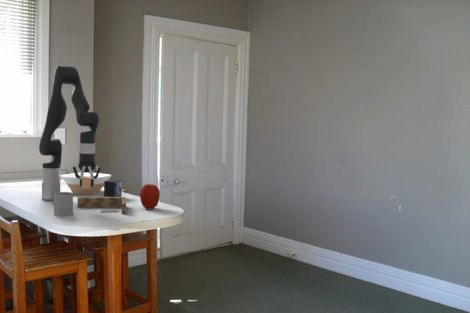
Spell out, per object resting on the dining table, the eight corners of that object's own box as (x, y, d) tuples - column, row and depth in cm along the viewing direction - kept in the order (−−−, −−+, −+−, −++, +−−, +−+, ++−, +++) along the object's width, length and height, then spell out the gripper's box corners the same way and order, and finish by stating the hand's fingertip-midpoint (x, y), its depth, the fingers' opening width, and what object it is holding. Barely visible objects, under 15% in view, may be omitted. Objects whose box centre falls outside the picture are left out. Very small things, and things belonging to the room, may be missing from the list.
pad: (100, 212, 248) (100, 211, 248) (101, 210, 253) (101, 209, 253) (117, 212, 250) (117, 211, 250) (117, 210, 255) (117, 209, 255)
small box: (114, 200, 283) (114, 181, 282) (103, 199, 284) (103, 180, 284) (122, 197, 293) (122, 179, 293) (111, 196, 295) (111, 178, 294)
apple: (147, 211, 255) (147, 183, 254) (135, 208, 262) (136, 181, 260) (163, 209, 262) (164, 182, 261) (151, 206, 269) (152, 180, 268)
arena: (74, 214, 241) (74, 204, 241) (77, 206, 261) (77, 197, 261) (125, 214, 247) (126, 203, 246) (125, 206, 266) (125, 196, 266)
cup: (56, 212, 245) (56, 191, 245) (74, 212, 246) (74, 192, 245) (52, 216, 237) (52, 194, 236) (70, 216, 238) (70, 195, 237)
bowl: (56, 193, 299) (56, 175, 298) (83, 188, 322) (83, 171, 321) (89, 197, 290) (89, 178, 289) (114, 191, 313) (115, 174, 312)
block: (81, 188, 250) (82, 178, 249) (83, 186, 256) (83, 176, 256) (90, 188, 250) (90, 178, 250) (91, 186, 257) (91, 176, 257)
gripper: (71, 152, 247) (70, 187, 248) (101, 153, 250) (101, 188, 251) (72, 151, 254) (72, 185, 256) (102, 151, 257) (101, 185, 259)
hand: (86, 186), depth 253 cm, fingers closed on block, 4 cm apart
